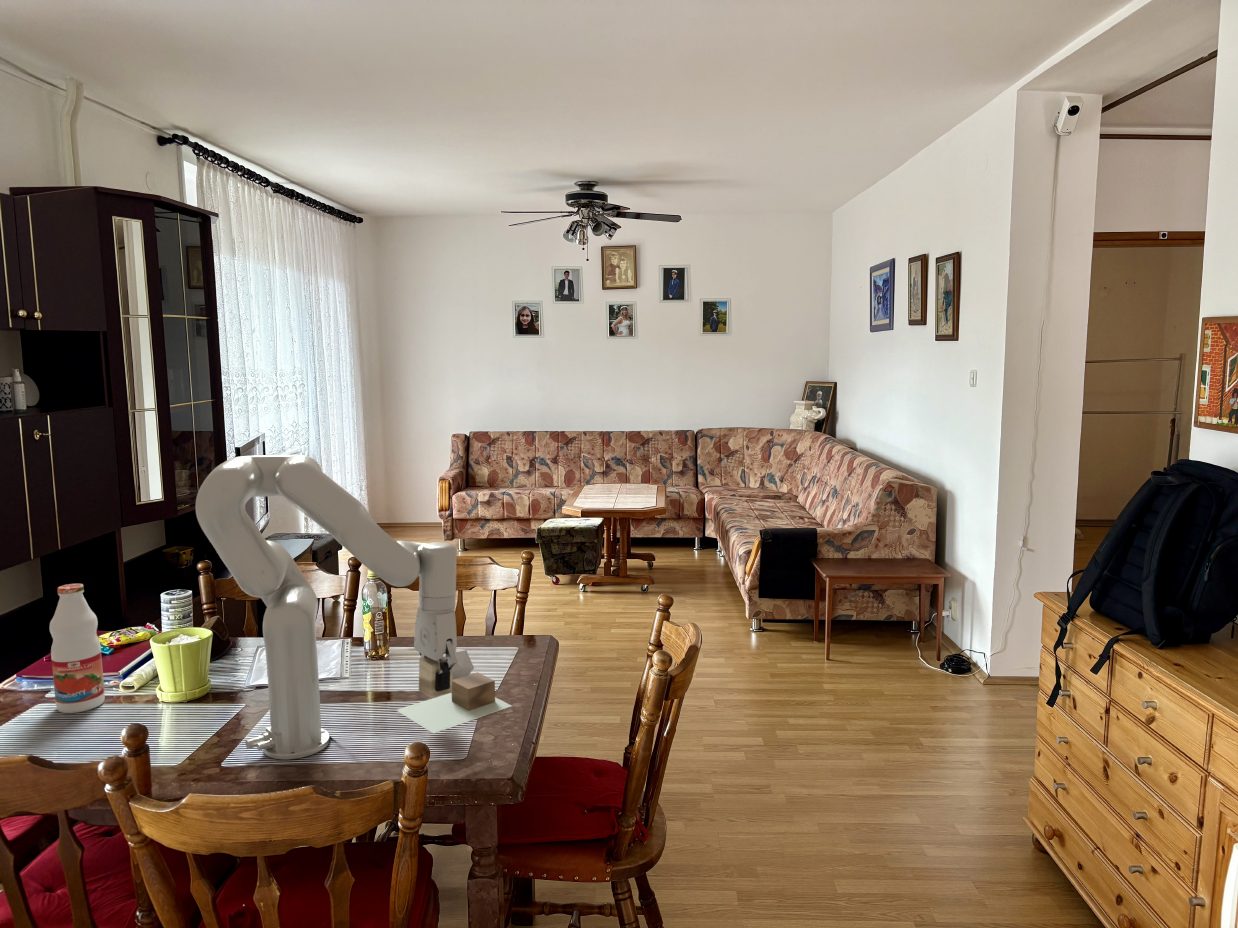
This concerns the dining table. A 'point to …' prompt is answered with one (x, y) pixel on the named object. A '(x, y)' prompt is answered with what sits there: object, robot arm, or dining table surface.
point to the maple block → (430, 677)
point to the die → (461, 664)
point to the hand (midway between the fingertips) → (435, 684)
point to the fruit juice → (76, 653)
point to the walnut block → (473, 691)
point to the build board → (446, 712)
